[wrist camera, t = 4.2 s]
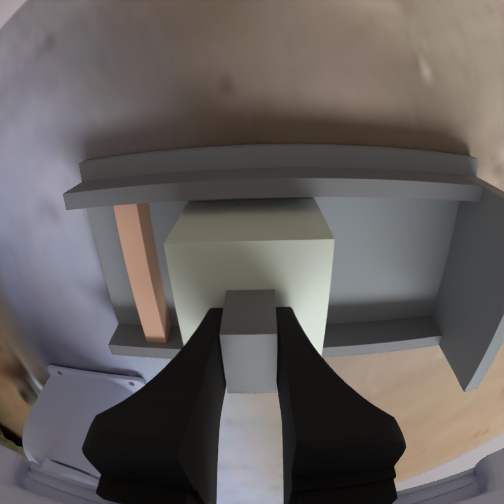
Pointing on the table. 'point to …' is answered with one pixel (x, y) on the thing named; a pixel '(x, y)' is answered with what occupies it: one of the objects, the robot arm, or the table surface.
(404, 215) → the bay
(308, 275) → the pale green knobbed block
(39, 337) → the table surface
